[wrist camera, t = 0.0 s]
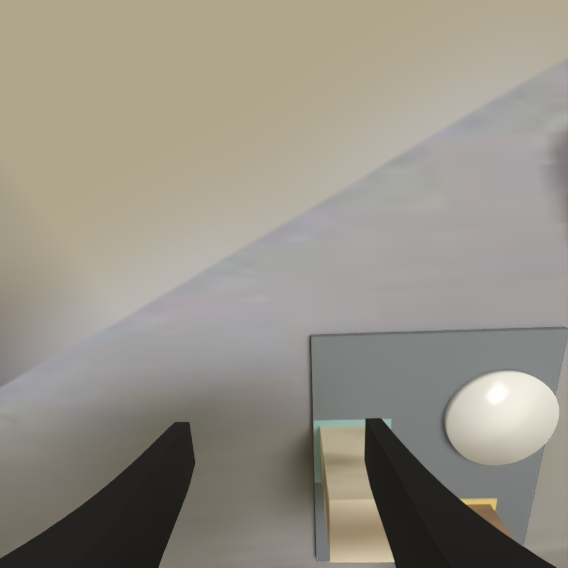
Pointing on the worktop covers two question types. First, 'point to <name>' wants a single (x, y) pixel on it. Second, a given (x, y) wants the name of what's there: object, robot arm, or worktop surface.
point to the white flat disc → (501, 417)
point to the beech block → (350, 498)
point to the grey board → (430, 404)
